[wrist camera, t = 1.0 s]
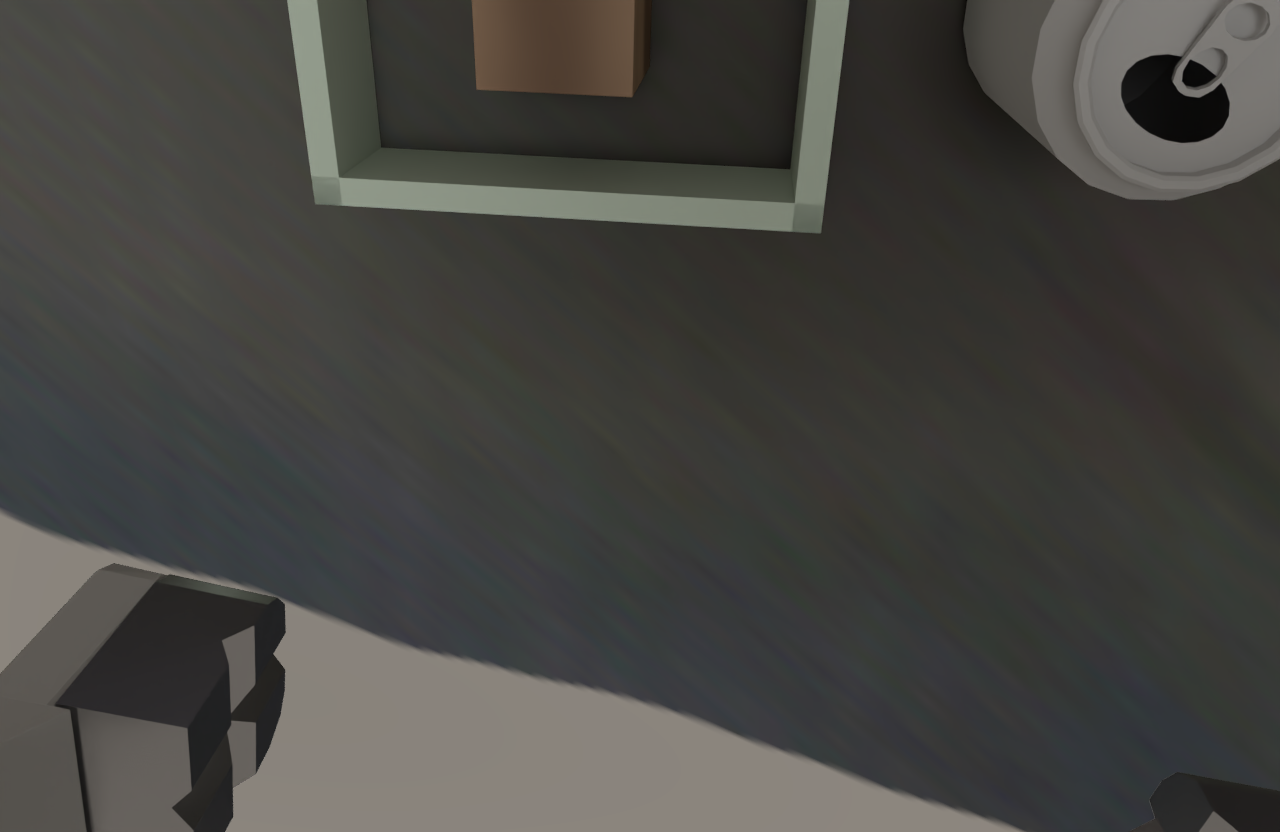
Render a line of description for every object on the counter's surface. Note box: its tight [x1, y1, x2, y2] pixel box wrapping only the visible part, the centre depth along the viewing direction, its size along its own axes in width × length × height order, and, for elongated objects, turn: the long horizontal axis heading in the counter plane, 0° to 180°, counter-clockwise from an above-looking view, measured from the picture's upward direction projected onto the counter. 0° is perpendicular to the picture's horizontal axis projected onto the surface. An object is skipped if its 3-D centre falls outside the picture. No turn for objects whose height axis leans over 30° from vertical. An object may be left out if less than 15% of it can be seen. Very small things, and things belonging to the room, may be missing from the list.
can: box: [963, 0, 1280, 200], centre depth 28 cm, size 8×8×12 cm
